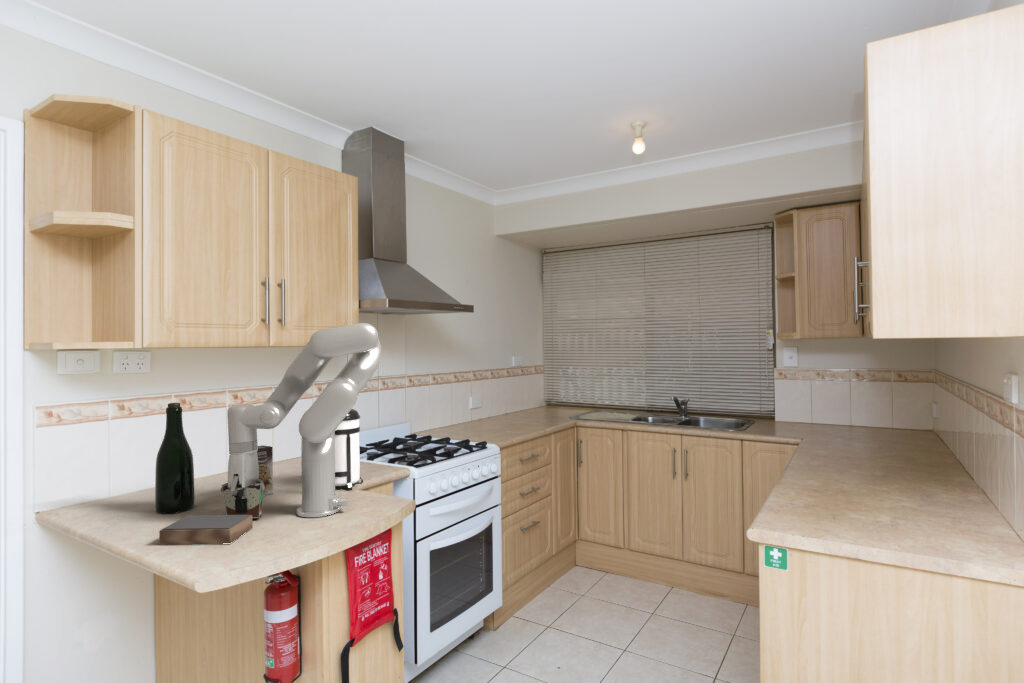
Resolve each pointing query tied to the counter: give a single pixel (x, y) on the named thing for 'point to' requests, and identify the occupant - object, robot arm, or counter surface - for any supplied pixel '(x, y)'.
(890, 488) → the counter surface
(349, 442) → the coffee press
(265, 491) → the coffee box
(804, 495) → the counter surface
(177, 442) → the beer bottle
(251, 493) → the food container
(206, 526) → the plinth
